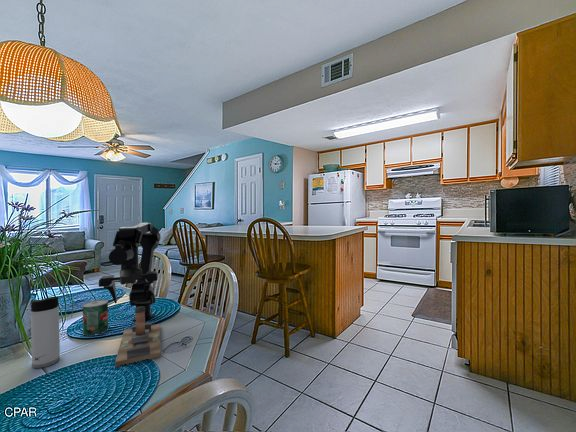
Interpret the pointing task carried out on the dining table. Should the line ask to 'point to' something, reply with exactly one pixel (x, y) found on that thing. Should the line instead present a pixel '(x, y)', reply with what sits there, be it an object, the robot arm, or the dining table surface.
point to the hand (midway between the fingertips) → (130, 301)
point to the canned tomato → (95, 317)
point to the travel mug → (45, 332)
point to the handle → (140, 326)
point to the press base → (139, 346)
